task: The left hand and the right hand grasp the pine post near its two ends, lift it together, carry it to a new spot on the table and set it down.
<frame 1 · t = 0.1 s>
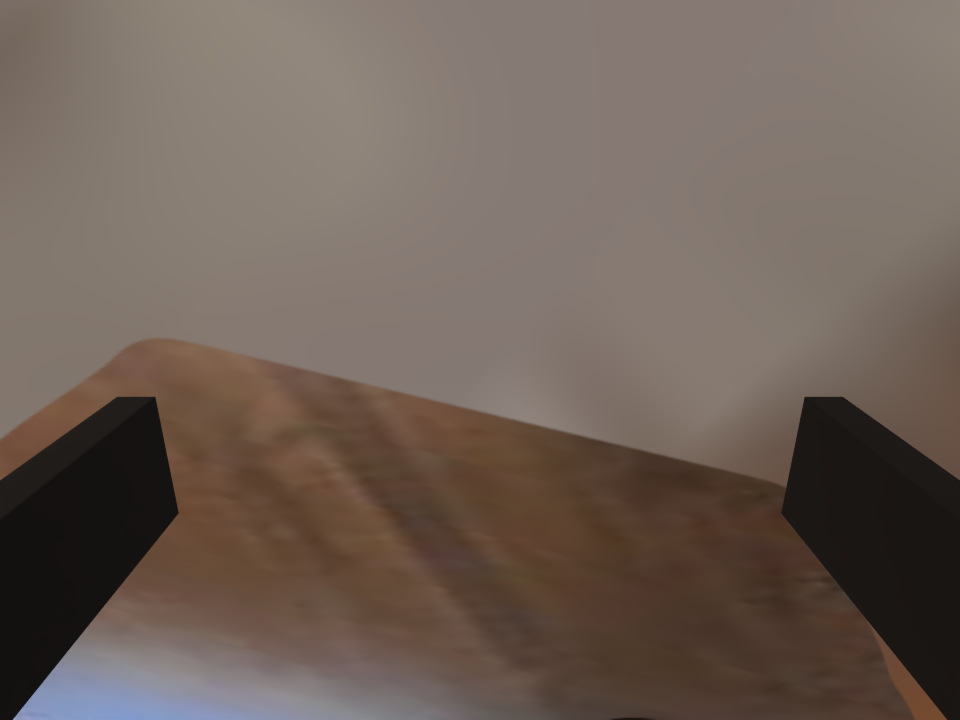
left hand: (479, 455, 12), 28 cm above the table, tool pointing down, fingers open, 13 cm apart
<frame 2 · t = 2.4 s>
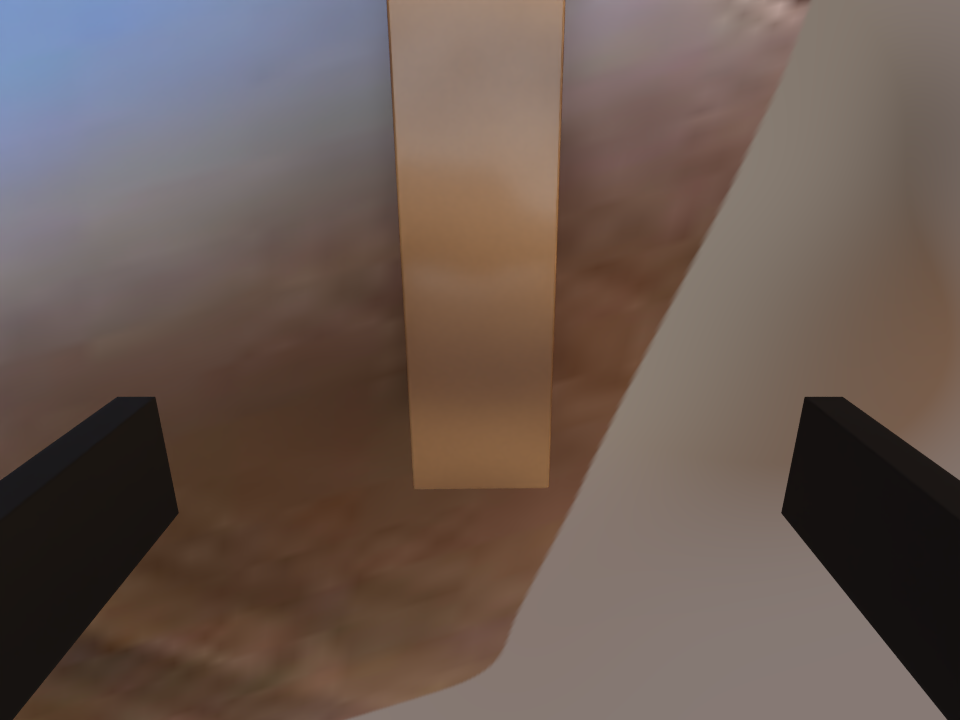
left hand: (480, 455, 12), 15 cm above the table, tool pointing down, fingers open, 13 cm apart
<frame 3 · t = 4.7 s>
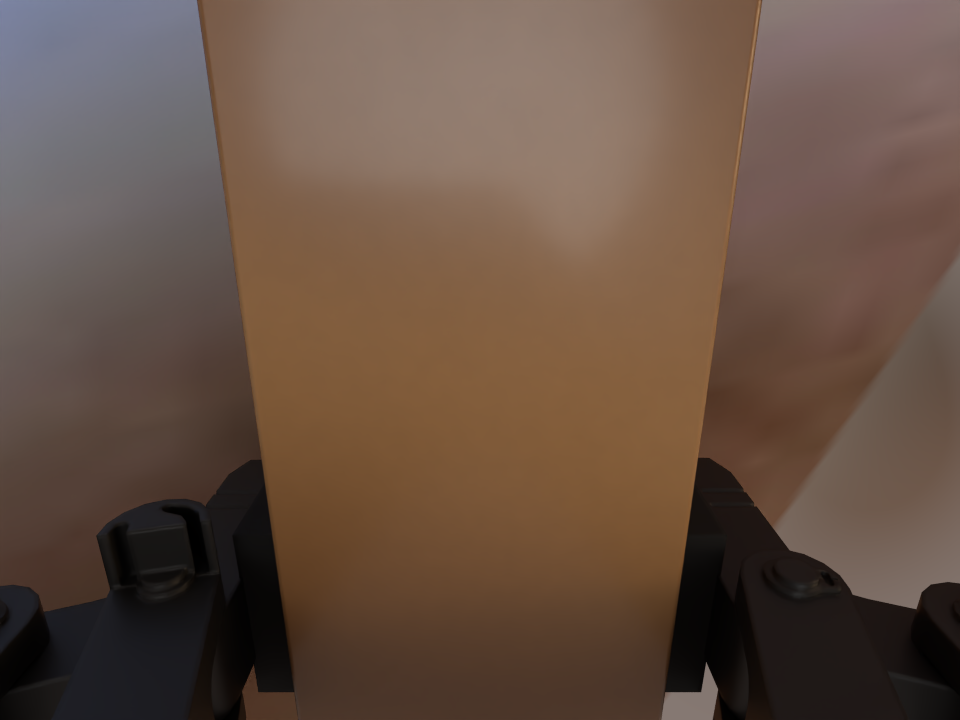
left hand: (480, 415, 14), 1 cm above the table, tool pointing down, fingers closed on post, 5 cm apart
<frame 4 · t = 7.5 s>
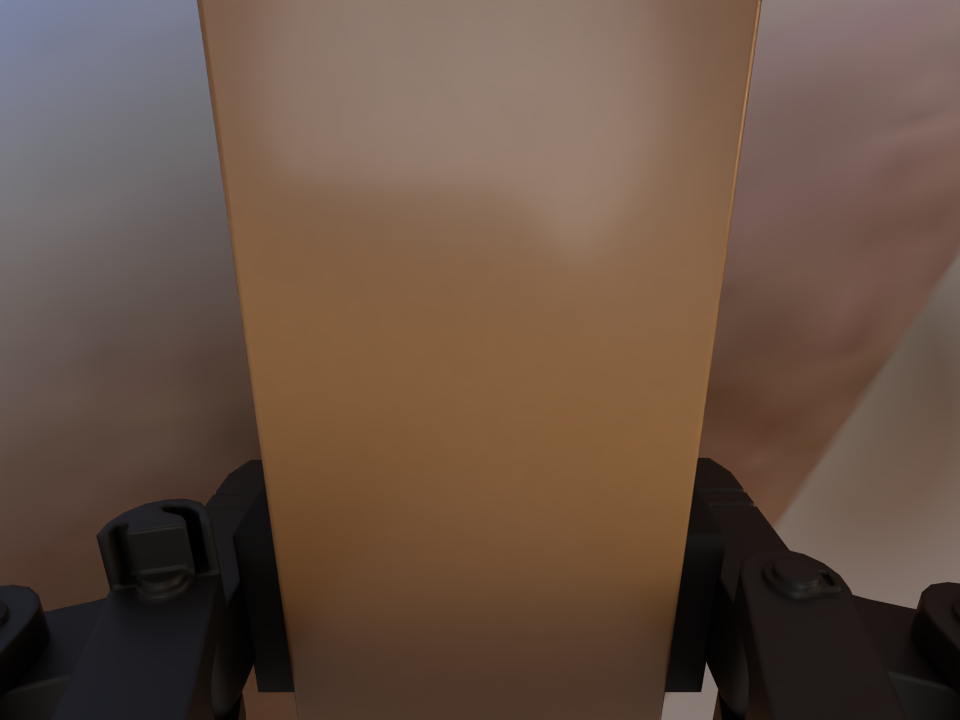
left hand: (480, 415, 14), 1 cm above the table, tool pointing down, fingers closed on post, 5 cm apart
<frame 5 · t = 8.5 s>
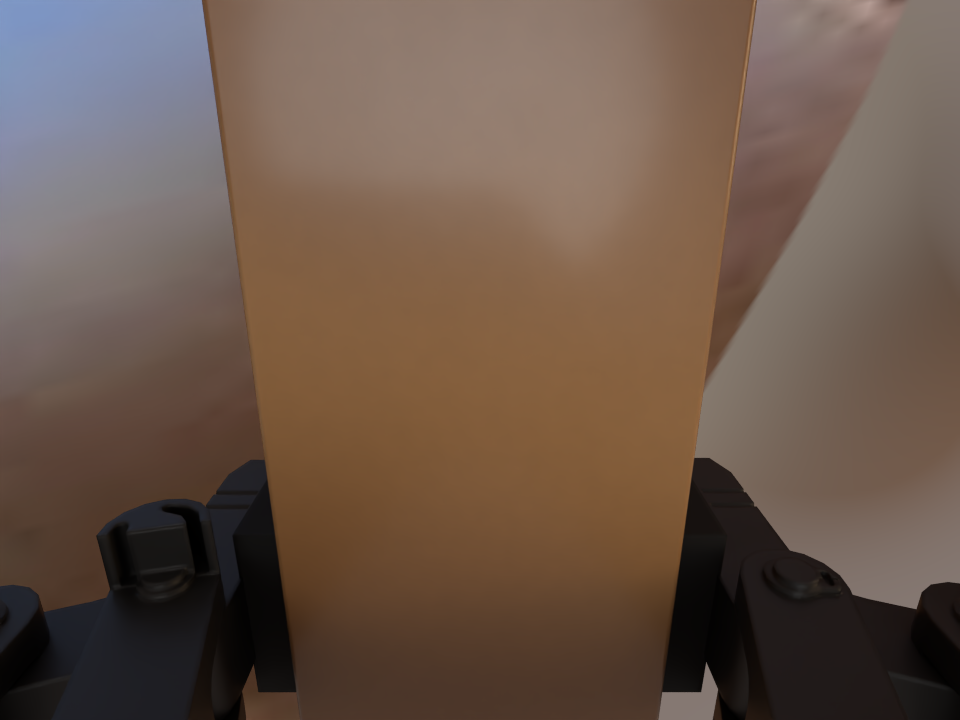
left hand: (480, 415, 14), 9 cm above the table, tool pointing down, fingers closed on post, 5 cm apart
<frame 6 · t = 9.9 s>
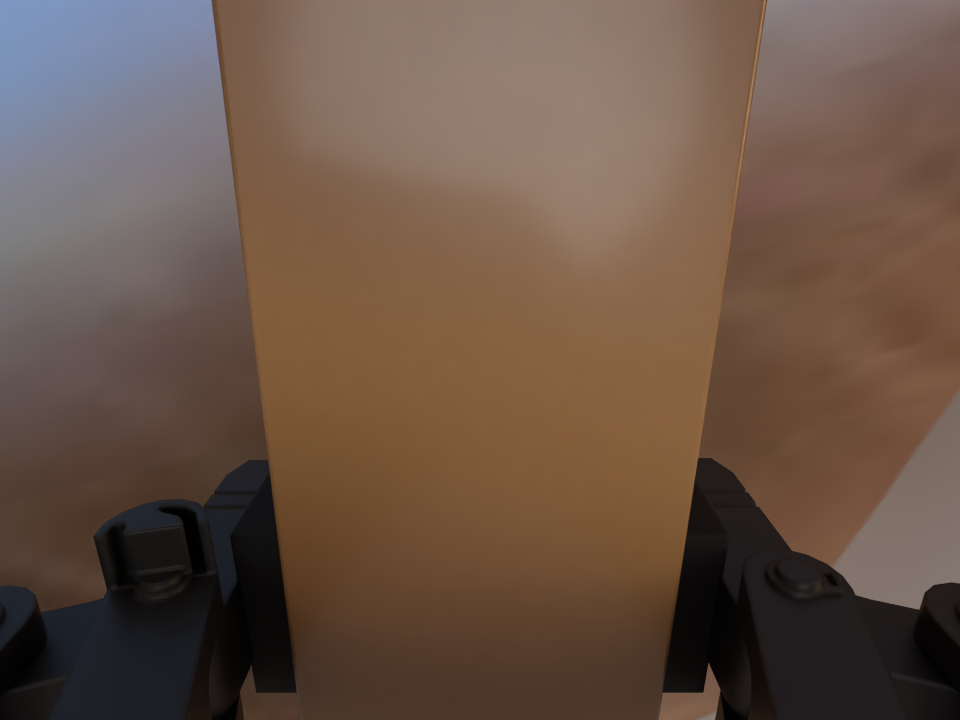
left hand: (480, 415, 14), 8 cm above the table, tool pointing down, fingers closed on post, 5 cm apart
when the left hand's fingers open (2 cm above the table, at t = 12.6 s): post moves 1 cm, on the table.
when the right hand's fingers open (3 cm above the table, at t = 12.7 s): post stays where it is, on the table.
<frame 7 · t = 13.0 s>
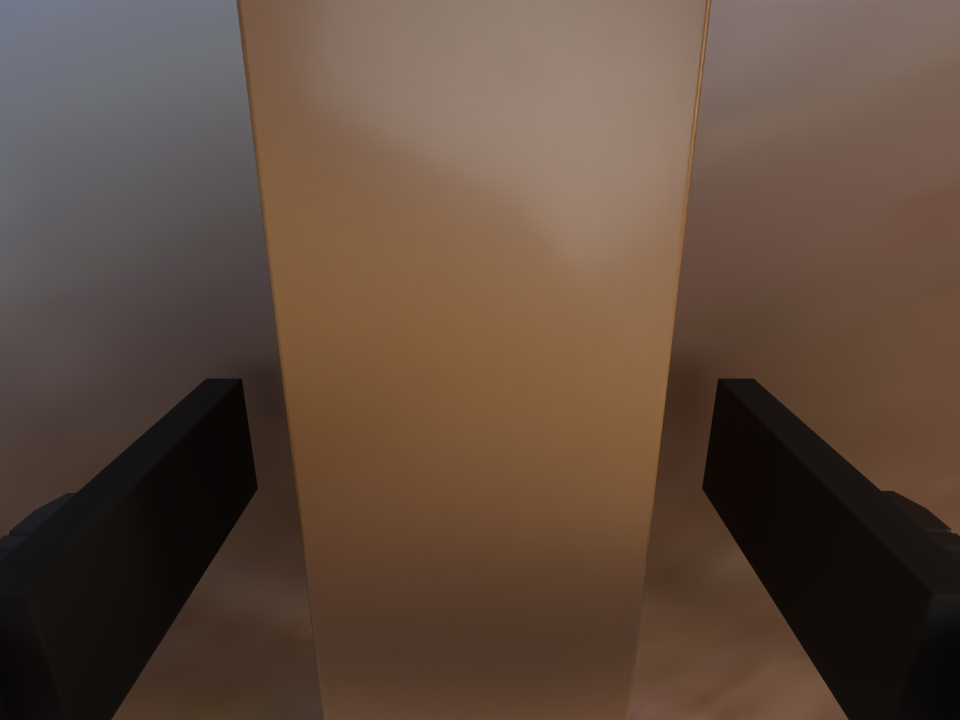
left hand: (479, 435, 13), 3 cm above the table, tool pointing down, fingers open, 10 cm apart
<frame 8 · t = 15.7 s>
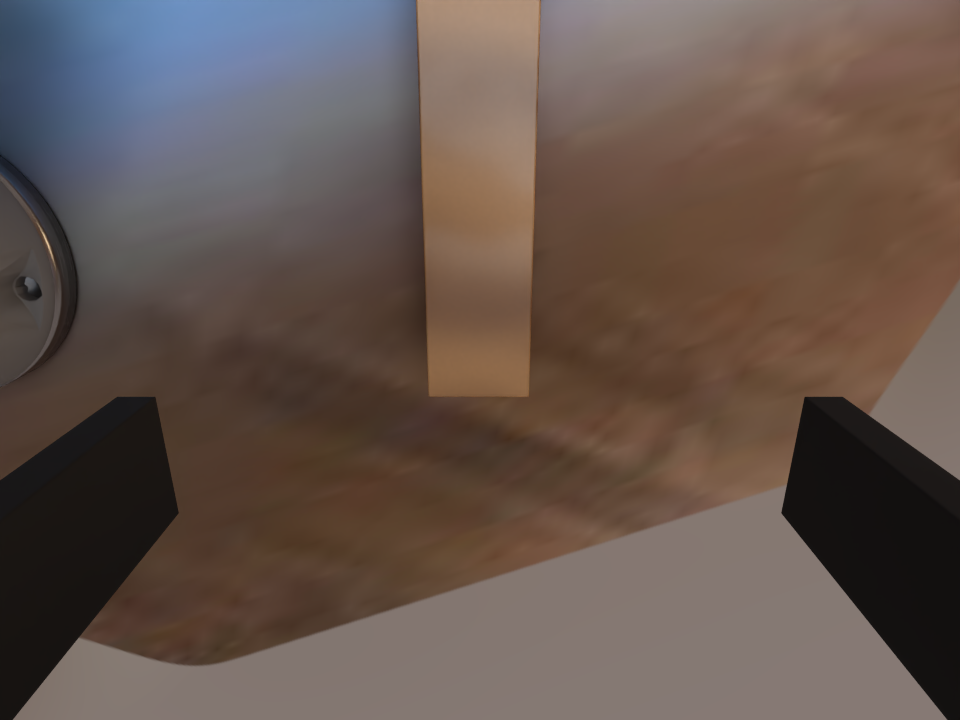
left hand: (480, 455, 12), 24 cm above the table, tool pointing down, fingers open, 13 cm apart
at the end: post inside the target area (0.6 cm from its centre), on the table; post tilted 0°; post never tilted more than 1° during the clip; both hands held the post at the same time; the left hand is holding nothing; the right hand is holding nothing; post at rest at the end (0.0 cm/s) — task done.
